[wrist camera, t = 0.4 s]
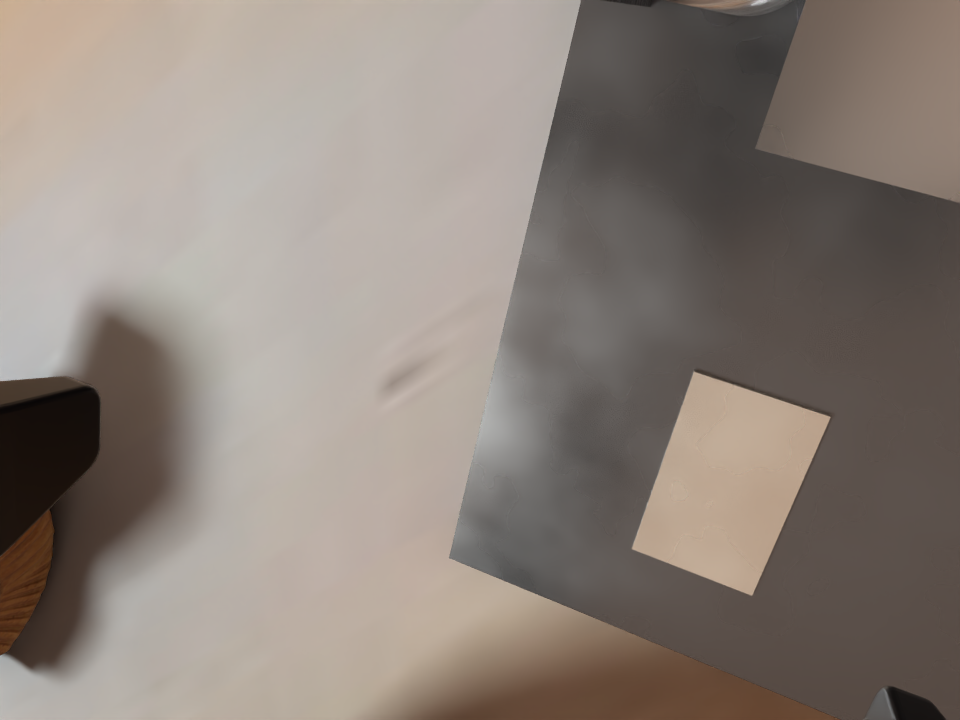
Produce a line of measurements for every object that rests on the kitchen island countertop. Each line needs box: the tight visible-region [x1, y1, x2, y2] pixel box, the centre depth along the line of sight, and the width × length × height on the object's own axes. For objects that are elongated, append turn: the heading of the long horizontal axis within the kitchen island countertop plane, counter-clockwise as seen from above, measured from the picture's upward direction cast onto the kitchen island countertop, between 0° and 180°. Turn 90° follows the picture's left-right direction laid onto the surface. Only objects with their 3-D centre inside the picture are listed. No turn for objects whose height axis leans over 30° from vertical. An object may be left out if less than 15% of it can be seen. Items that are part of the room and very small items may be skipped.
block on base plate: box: [449, 0, 960, 720], centre depth 13 cm, size 20×19×10 cm
